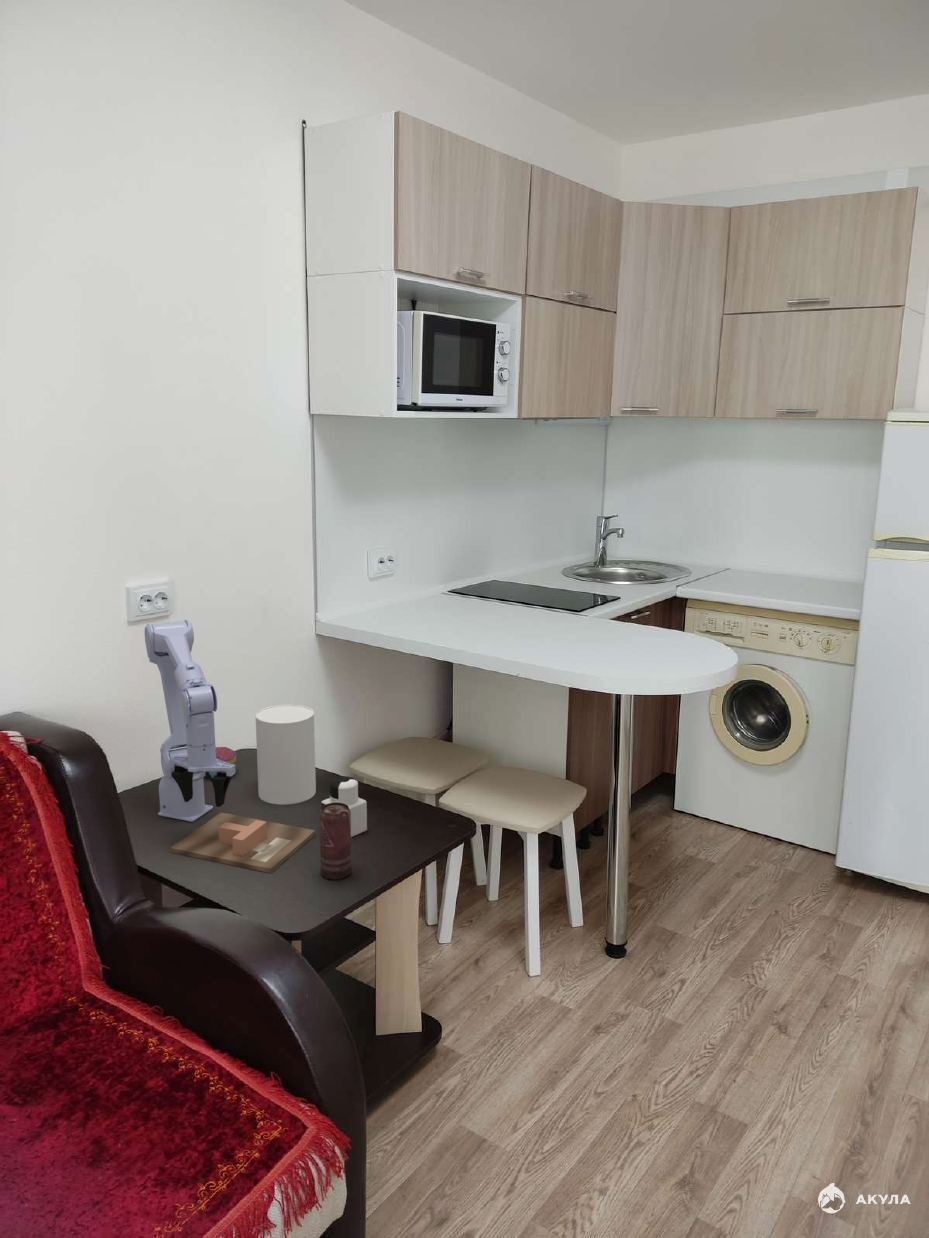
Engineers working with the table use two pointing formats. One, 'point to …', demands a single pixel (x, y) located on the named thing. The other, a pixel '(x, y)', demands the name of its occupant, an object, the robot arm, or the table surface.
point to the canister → (285, 753)
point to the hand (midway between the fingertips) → (204, 802)
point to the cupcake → (225, 756)
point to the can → (335, 840)
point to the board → (260, 858)
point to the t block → (243, 836)
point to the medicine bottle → (349, 802)
